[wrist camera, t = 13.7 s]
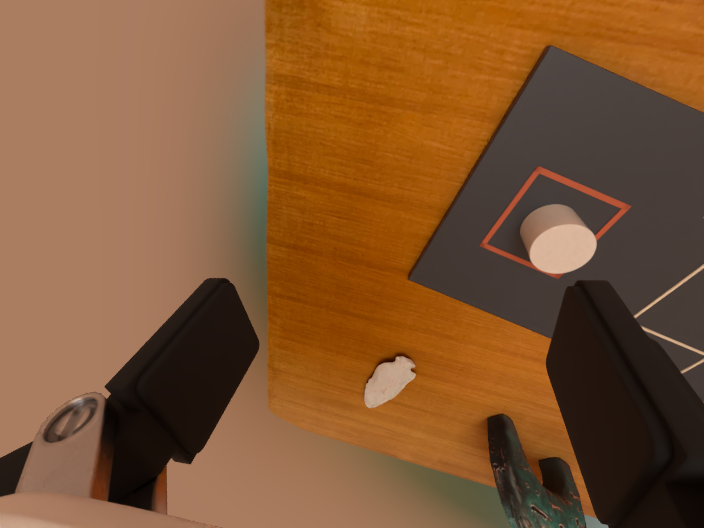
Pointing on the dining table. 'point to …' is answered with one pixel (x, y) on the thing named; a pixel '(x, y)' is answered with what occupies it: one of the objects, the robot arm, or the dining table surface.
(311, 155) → the dining table surface
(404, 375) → the stone tool
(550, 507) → the ceramic cat
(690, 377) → the board
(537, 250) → the white cylinder
